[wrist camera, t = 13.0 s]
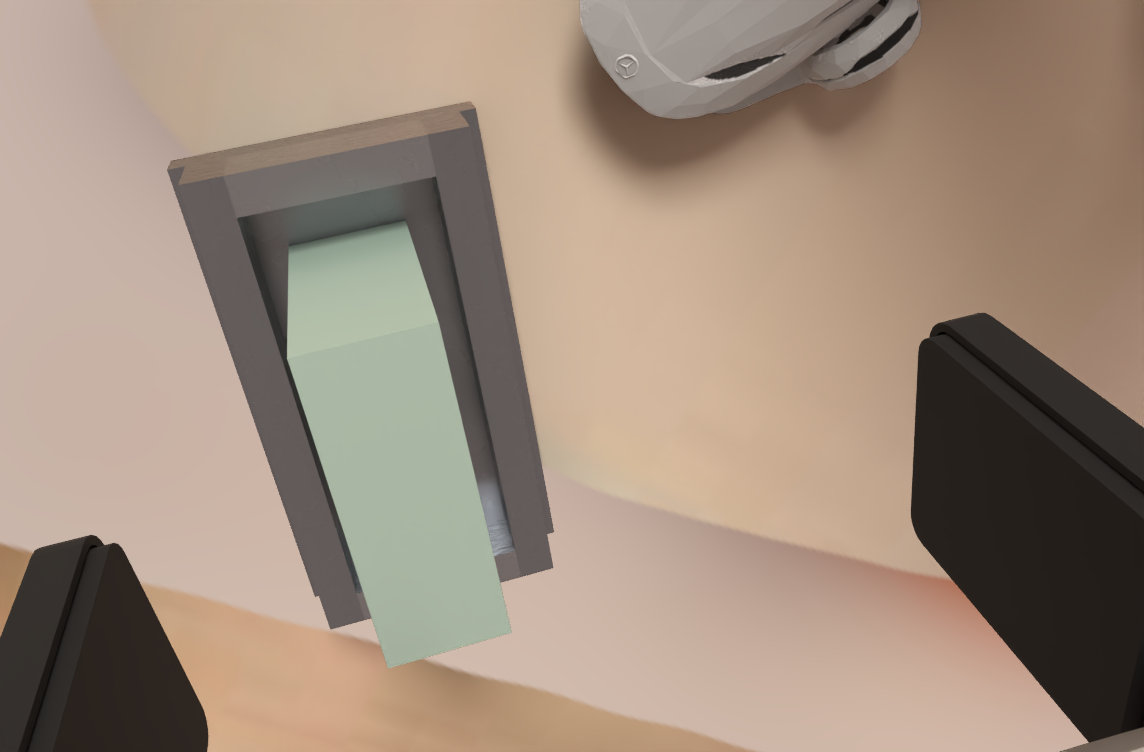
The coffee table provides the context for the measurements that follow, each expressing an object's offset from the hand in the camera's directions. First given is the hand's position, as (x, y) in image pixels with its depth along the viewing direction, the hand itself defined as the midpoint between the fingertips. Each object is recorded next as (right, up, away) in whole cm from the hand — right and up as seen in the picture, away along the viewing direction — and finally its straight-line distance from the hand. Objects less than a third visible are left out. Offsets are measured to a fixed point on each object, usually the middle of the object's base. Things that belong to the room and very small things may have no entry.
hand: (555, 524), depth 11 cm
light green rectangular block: (-6, +2, +21) cm, 22 cm away
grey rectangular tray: (-6, +2, +22) cm, 23 cm away
